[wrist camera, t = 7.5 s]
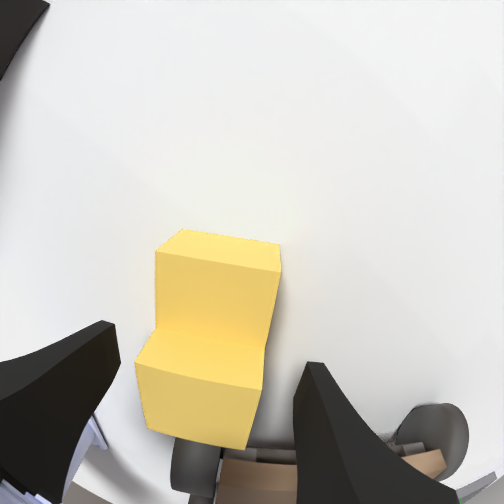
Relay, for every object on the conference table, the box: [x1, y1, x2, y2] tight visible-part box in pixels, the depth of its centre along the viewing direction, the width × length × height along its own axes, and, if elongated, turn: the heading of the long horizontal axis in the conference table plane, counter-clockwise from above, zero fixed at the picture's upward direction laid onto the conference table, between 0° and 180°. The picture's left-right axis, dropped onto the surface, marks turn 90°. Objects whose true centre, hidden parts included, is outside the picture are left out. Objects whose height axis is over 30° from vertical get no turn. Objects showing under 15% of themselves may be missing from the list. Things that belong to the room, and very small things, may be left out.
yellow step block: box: [134, 229, 281, 450], centre depth 10 cm, size 4×7×5 cm, turn 171°
